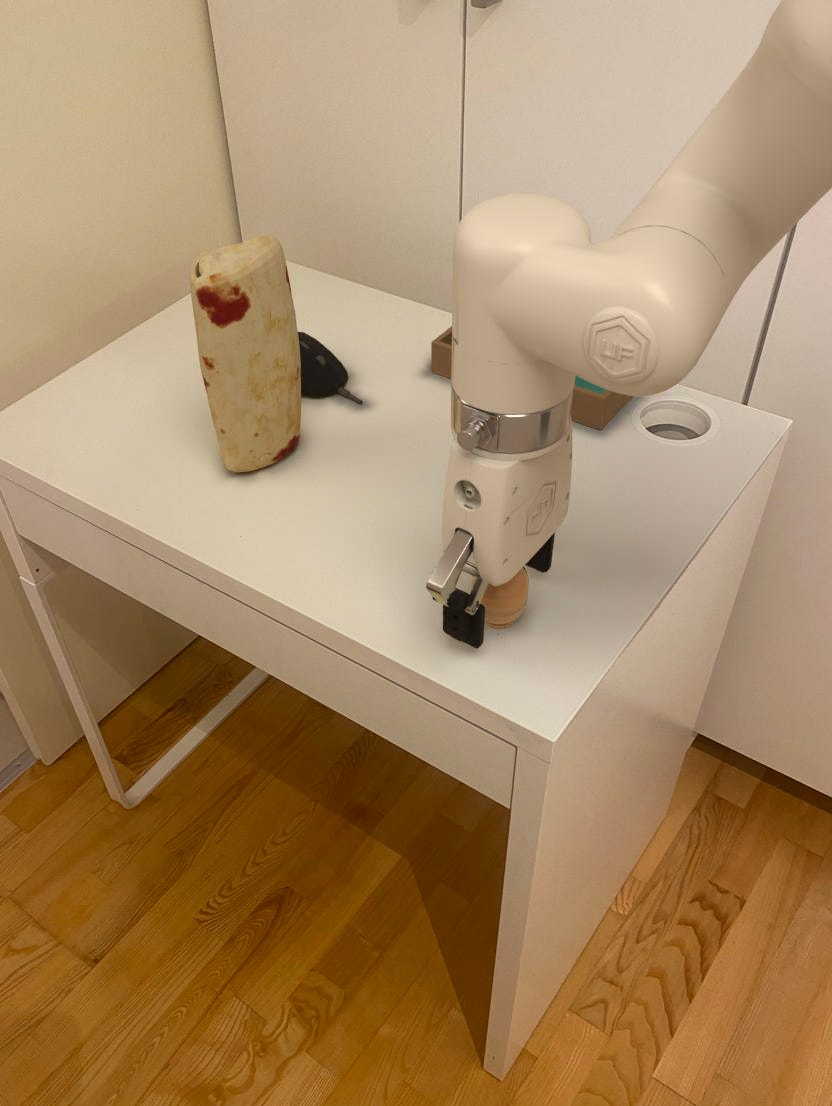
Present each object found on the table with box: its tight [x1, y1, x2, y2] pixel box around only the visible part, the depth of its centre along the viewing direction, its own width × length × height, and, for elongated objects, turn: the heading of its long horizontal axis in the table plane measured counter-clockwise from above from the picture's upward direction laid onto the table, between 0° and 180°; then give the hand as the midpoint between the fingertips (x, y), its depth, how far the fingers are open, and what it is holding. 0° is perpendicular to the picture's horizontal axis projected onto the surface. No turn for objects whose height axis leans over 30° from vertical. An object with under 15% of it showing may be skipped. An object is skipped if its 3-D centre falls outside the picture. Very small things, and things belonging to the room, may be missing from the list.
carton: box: [430, 325, 634, 431], centre depth 96 cm, size 7×19×3 cm, turn 52°
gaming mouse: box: [298, 331, 364, 405], centre depth 99 cm, size 6×15×4 cm, turn 46°
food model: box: [188, 235, 302, 473], centre depth 85 cm, size 10×7×20 cm
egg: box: [471, 566, 530, 629], centre depth 74 cm, size 4×4×6 cm
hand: (498, 600), depth 75 cm, fingers open, 9 cm apart
